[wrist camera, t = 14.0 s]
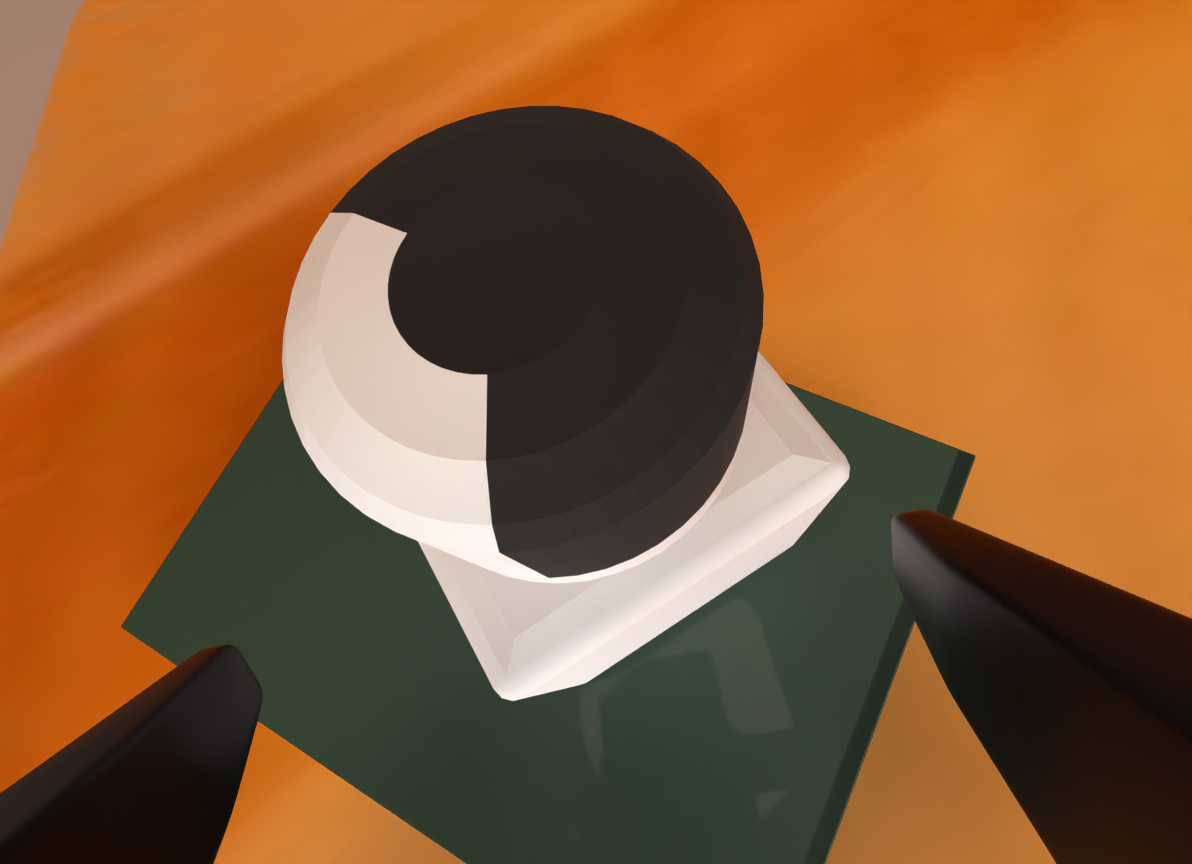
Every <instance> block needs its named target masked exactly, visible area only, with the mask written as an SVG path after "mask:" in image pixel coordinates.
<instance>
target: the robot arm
mask: <svg viewBox="0 0 1192 864" xmlns="http://www.w3.org/2000/svg"><path fill="white" fill-rule="evenodd" d="M891 530H892V551H893V568H894V574H895V577H896V580H897V583H898V586H899V588H900V590H901V592H902V594H903V596H904V598H905V600H906V602H907V605H908V607H909V609H910V611H911V613H912V615H913V617H914V619H915V621H916V623H917V625H918V628H919V630H920V632H921V634H922V636H923V638H924V640H925V642H926V644H927V646H928V648H929V651H930V653H931V655H932V657H933V659H934V661H935V663H936V665H937V667H938V669H939V672H940V674H941V676H942V677H943V679H944V681H945V683H946V685H947V687H948V689H949V691H950V693H951V695H952V696H953V698H954V700H955V701H956V703H957V705H958V706H959V708H960V710H961V711H962V713H963V715H964V716H965V718H966V719H967V721H968V723H969V724H970V726H971V727H972V729H973V731H974V732H975V734H976V735H977V737H978V739H979V740H980V742H981V743H982V745H983V747H984V748H985V750H986V751H987V753H988V755H989V756H990V758H991V759H992V761H993V763H994V764H995V766H996V767H997V769H998V771H999V772H1000V774H1001V775H1002V777H1003V779H1004V780H1005V782H1006V783H1007V785H1008V787H1009V788H1010V790H1011V791H1012V793H1013V795H1014V796H1015V798H1016V799H1017V801H1018V803H1019V804H1020V806H1021V807H1022V809H1023V811H1024V812H1025V814H1026V815H1027V817H1028V819H1029V820H1030V822H1031V823H1032V825H1033V827H1034V828H1035V830H1036V831H1037V833H1038V835H1039V836H1040V838H1041V839H1042V841H1043V843H1044V844H1045V846H1046V847H1047V849H1048V851H1049V852H1050V854H1051V855H1052V857H1053V859H1054V860H1055V862H1056V863H1057V864H1192V618H1189V617H1187V616H1184V615H1182V614H1180V613H1177V612H1175V611H1172V610H1170V609H1167V608H1165V607H1163V606H1160V605H1158V604H1155V603H1153V602H1151V601H1148V600H1146V599H1143V598H1141V597H1139V596H1136V595H1134V594H1131V593H1129V592H1127V591H1124V590H1122V589H1119V588H1117V587H1115V586H1112V585H1110V584H1107V583H1105V582H1103V581H1100V580H1098V579H1095V578H1093V577H1090V576H1088V575H1086V574H1083V573H1081V572H1078V571H1076V570H1074V569H1071V568H1069V567H1066V566H1064V565H1062V564H1059V563H1057V562H1054V561H1052V560H1050V559H1047V558H1045V557H1042V556H1040V555H1038V554H1035V553H1033V552H1030V551H1028V550H1026V549H1023V548H1021V547H1018V546H1016V545H1013V544H1011V543H1009V542H1006V541H1004V540H1001V539H999V538H997V537H994V536H992V535H989V534H987V533H985V532H982V531H980V530H977V529H975V528H973V527H970V526H968V525H965V524H963V523H961V522H958V521H956V520H953V519H951V518H949V517H946V516H944V515H941V514H939V513H937V512H934V511H932V510H929V509H919V510H914V511H909V512H904V513H899V514H896V515H895V516H894V517H893V519H892V523H891ZM262 701H263V693H262V688H261V685H260V683H259V681H258V680H257V678H256V676H255V675H254V673H253V671H252V670H251V668H250V666H249V665H248V663H247V662H246V660H245V658H244V657H243V655H242V653H241V652H240V650H239V649H238V648H237V647H235V646H234V645H229V644H226V645H221V646H215V647H210V648H206V649H203V650H200V651H199V652H197V653H195V654H194V655H193V656H191V657H190V658H189V659H187V660H186V661H184V662H183V663H182V664H180V665H179V666H177V667H176V668H175V669H173V670H172V671H170V672H169V673H168V674H166V675H165V676H163V677H162V678H161V679H159V680H158V681H156V682H155V683H154V684H152V685H151V686H149V687H148V688H147V689H145V690H144V691H142V692H141V693H140V694H138V695H137V696H135V697H134V698H133V699H131V700H130V701H128V702H127V703H126V704H124V705H123V706H122V707H120V708H119V709H117V710H116V711H115V712H113V713H112V714H110V715H109V716H108V717H106V718H105V719H103V720H102V721H101V722H99V723H98V724H96V725H95V726H94V727H92V728H91V729H89V730H88V731H87V732H85V733H84V734H82V735H81V736H80V737H78V738H77V739H75V740H74V741H73V742H71V743H70V744H68V745H67V746H66V747H64V748H63V749H61V750H60V751H59V752H57V753H56V754H55V755H53V756H52V757H50V758H49V759H48V760H46V761H45V762H43V763H42V764H41V765H39V766H38V767H36V768H35V769H34V770H32V771H31V772H29V773H28V774H27V775H25V776H24V777H22V778H21V779H20V780H18V781H17V782H15V783H14V784H13V785H11V786H10V787H8V788H7V789H6V790H4V791H3V792H1V793H0V864H214V861H215V858H216V855H217V853H218V850H219V847H220V845H221V842H222V839H223V837H224V834H225V831H226V828H227V826H228V823H229V820H230V817H231V814H232V811H233V808H234V804H235V801H236V798H237V794H238V791H239V787H240V783H241V780H242V776H243V772H244V769H245V765H246V761H247V758H248V754H249V750H250V747H251V743H252V739H253V736H254V732H255V728H256V725H257V721H258V717H259V714H260V710H261V706H262Z"/></svg>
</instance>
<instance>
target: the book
mask: <svg viewBox="0 0 1192 864" xmlns="http://www.w3.org/2000/svg"><path fill="white" fill-rule="evenodd" d="M785 384H786V385H787V386H788V387H789V388H790V390H791V391H792V392H793V393H794V394H795V396H796V397H797V398H798V399H799V401H800V402H801V403H802V404H803V405H804V407H805V408H806V409H807V410H808V411H809V413H810V414H811V415H812V416H813V417H814V419H815V420H816V421H817V422H818V424H819V425H820V426H821V427H822V428H823V430H824V431H825V432H826V433H827V434H828V436H829V437H830V438H831V439H832V441H833V442H834V443H835V444H836V445H837V447H838V448H839V449H840V450H841V451H842V453H843V454H844V455H845V457H846V459H847V461H848V463H849V466H850V472H849V479H848V480H847V481H846V482H845V483H844V485H843V486H842V487H841V488H840V489H839V491H838V492H837V493H836V494H835V495H834V497H833V498H832V499H831V500H830V501H829V503H828V504H827V505H826V506H825V507H824V509H823V510H822V511H821V512H820V513H819V515H818V516H817V517H816V518H815V519H814V521H813V522H812V523H811V524H810V525H809V527H808V528H807V529H806V530H805V531H804V533H803V534H802V535H801V536H800V537H799V539H798V540H797V541H796V542H795V543H794V545H793V546H791V547H790V548H788V549H787V550H785V551H784V552H782V553H781V554H779V555H778V556H776V557H775V558H773V559H772V560H770V561H769V562H767V563H766V564H764V565H763V566H761V567H760V568H758V569H757V570H755V571H754V572H752V573H751V574H749V575H748V576H746V577H745V578H743V579H742V580H740V581H739V582H737V583H736V584H734V585H733V586H731V587H730V588H728V589H727V590H725V591H724V592H722V593H721V594H719V595H718V596H716V597H715V598H713V599H712V600H710V601H709V602H707V603H706V604H704V605H703V606H701V607H700V608H698V609H697V610H695V611H694V612H692V613H691V614H689V615H688V616H686V617H685V618H683V619H682V620H680V621H679V622H677V623H676V624H674V625H673V626H671V627H670V628H668V629H667V630H665V631H664V632H662V633H661V634H659V635H658V636H656V637H655V638H653V639H652V640H650V641H649V642H647V643H646V644H644V645H643V646H641V647H640V648H638V649H637V650H635V651H634V652H632V653H631V654H629V655H628V656H626V657H625V658H623V659H622V660H620V661H618V662H617V663H615V664H614V665H612V666H611V667H609V668H608V669H606V670H605V671H603V672H602V673H600V674H599V675H597V676H596V677H594V678H593V679H591V680H590V681H588V682H587V683H584V684H581V685H578V686H574V687H569V688H565V689H561V690H557V691H553V692H549V693H544V694H540V695H536V696H532V697H528V698H523V699H519V700H515V701H511V700H507V699H503V698H501V697H500V696H499V694H498V693H497V692H496V691H495V690H494V689H493V687H492V685H491V683H490V681H489V679H488V677H487V675H486V673H485V671H484V669H483V667H482V665H481V663H480V662H479V660H478V658H477V656H476V654H475V652H474V650H473V648H472V646H471V644H470V642H469V640H468V638H467V636H466V634H465V632H464V630H463V628H462V626H461V624H460V622H459V621H458V619H457V617H456V615H455V613H454V611H453V609H452V607H451V605H450V603H449V601H448V599H447V597H446V595H445V593H444V591H443V589H442V587H441V585H440V583H439V581H438V580H437V578H436V576H435V574H434V572H433V570H432V568H431V566H430V564H429V562H428V560H427V558H426V556H425V554H424V552H423V550H422V548H421V546H420V544H419V542H418V541H417V540H414V539H412V538H409V537H407V536H404V535H402V534H400V533H397V532H395V531H393V530H391V529H389V528H388V527H386V526H384V525H382V524H380V523H379V522H377V521H375V520H373V519H372V518H370V517H368V516H366V515H365V514H364V513H362V512H361V511H360V510H359V509H357V508H356V507H355V506H354V505H352V504H351V503H350V502H349V501H347V500H346V499H345V498H344V497H342V496H341V495H340V494H339V493H338V492H337V491H336V489H335V488H334V487H333V486H332V485H331V484H330V483H329V482H328V480H327V479H326V478H325V477H324V476H323V475H322V474H321V473H320V471H319V470H318V468H317V467H316V465H315V464H314V462H313V460H312V459H311V457H310V456H309V454H308V452H307V451H306V449H305V448H304V446H303V444H302V442H301V439H300V437H299V435H298V432H297V430H296V427H295V425H294V423H293V420H292V418H291V414H290V410H289V406H288V402H287V397H286V393H285V389H284V379H283V380H282V382H281V384H280V385H279V387H278V388H277V390H276V391H275V393H274V394H273V396H272V397H271V399H270V400H269V402H268V403H267V405H266V406H265V408H264V409H263V411H262V412H261V414H260V416H259V417H258V419H257V420H256V422H255V423H254V425H253V426H252V428H251V429H250V431H249V432H248V434H247V435H246V437H245V438H244V440H243V441H242V443H241V444H240V446H239V448H238V449H237V451H236V452H235V454H234V455H233V457H232V458H231V460H230V461H229V463H228V464H227V466H226V467H225V469H224V470H223V472H222V473H221V475H220V476H219V478H218V480H217V481H216V483H215V484H214V486H213V487H212V489H211V490H210V492H209V493H208V495H207V496H206V498H205V499H204V501H203V502H202V504H201V505H200V507H199V508H198V510H197V512H196V513H195V515H194V516H193V518H192V519H191V521H190V522H189V524H188V525H187V527H186V528H185V530H184V531H183V533H182V534H181V536H180V537H179V539H178V540H177V542H176V544H175V545H174V547H173V548H172V550H171V551H170V553H169V554H168V556H167V557H166V559H165V560H164V562H163V563H162V565H161V566H160V568H159V569H158V571H157V572H156V574H155V575H154V577H153V579H152V580H151V582H150V583H149V585H148V586H147V588H146V589H145V591H144V592H143V594H142V595H141V597H140V598H139V600H138V601H137V603H136V604H135V606H134V607H133V609H132V611H131V612H130V614H129V615H128V617H127V618H126V620H125V621H124V623H123V624H122V626H121V627H122V628H123V629H124V630H126V631H127V632H129V633H130V634H132V635H133V636H135V637H136V638H138V639H139V640H140V641H142V642H143V643H145V644H146V645H148V646H149V647H151V648H152V649H154V650H155V651H157V652H158V653H159V654H161V655H162V656H164V657H165V658H167V659H168V660H170V661H171V662H173V663H174V664H175V665H177V666H179V665H180V664H182V663H183V662H184V661H186V660H187V659H189V658H190V657H191V656H193V655H194V654H195V653H197V652H199V651H200V650H203V649H206V648H210V647H215V646H221V645H226V644H229V645H234V646H235V647H237V648H238V649H239V650H240V652H241V653H242V655H243V657H244V658H245V660H246V662H247V663H248V665H249V666H250V668H251V670H252V671H253V673H254V675H255V676H256V678H257V680H258V681H259V683H260V685H261V688H262V693H263V701H262V706H261V710H260V714H259V717H258V721H259V722H260V723H262V724H263V725H265V726H266V727H268V728H269V729H270V730H272V731H273V732H275V733H276V734H278V735H279V736H281V737H282V738H284V739H285V740H287V741H288V742H289V743H291V744H292V745H294V746H295V747H297V748H298V749H300V750H301V751H303V752H304V753H305V754H307V755H308V756H310V757H311V758H313V759H314V760H316V761H317V762H319V763H320V764H322V765H323V766H324V767H326V768H327V769H329V770H330V771H332V772H333V773H335V774H336V775H338V776H339V777H341V778H342V779H343V780H345V781H346V782H348V783H349V784H351V785H352V786H354V787H355V788H357V789H358V790H360V791H361V792H362V793H364V794H365V795H367V796H368V797H370V798H371V799H373V800H374V801H376V802H377V803H379V804H380V805H381V806H383V807H384V808H386V809H387V810H389V811H390V812H392V813H393V814H395V815H396V816H398V817H399V818H400V819H402V820H403V821H405V822H406V823H408V824H409V825H411V826H412V827H414V828H415V829H417V830H418V831H419V832H421V833H422V834H424V835H425V836H427V837H428V838H430V839H431V840H433V841H434V842H435V843H437V844H438V845H440V846H441V847H443V848H444V849H446V850H447V851H449V852H450V853H452V854H453V855H454V856H456V857H457V858H459V859H460V860H462V861H463V862H465V863H466V864H825V863H826V861H827V858H828V855H829V853H830V850H831V847H832V844H833V842H834V839H835V836H836V834H837V831H838V828H839V826H840V823H841V820H842V817H843V815H844V812H845V809H846V807H847V804H848V801H849V798H850V796H851V793H852V790H853V788H854V785H855V782H856V779H857V777H858V774H859V771H860V769H861V766H862V763H863V761H864V758H865V755H866V752H867V750H868V747H869V744H870V742H871V739H872V736H873V733H874V731H875V728H876V725H877V723H878V720H879V717H880V714H881V712H882V709H883V706H884V704H885V701H886V698H887V695H888V693H889V690H890V687H891V685H892V682H893V679H894V677H895V674H896V671H897V668H898V666H899V663H900V660H901V658H902V655H903V652H904V649H905V647H906V644H907V641H908V639H909V636H910V633H911V630H912V628H913V625H914V622H915V619H914V617H913V615H912V613H911V611H910V609H909V607H908V605H907V602H906V600H905V598H904V596H903V594H902V592H901V590H900V588H899V586H898V583H897V580H896V577H895V574H894V568H893V551H892V530H891V523H892V519H893V517H894V516H895V515H896V514H899V513H904V512H909V511H914V510H919V509H929V510H932V511H934V512H937V513H939V514H941V515H944V516H946V517H949V518H951V519H953V517H954V514H955V511H956V509H957V506H958V503H959V500H960V498H961V495H962V492H963V490H964V487H965V484H966V482H967V479H968V476H969V473H970V471H971V468H972V465H973V463H974V460H975V455H972V454H970V453H967V452H964V451H962V450H959V449H957V448H954V447H951V446H949V445H946V444H944V443H941V442H938V441H936V440H933V439H931V438H928V437H925V436H923V435H920V434H918V433H915V432H912V431H910V430H907V429H905V428H902V427H899V426H897V425H894V424H892V423H889V422H886V421H884V420H881V419H879V418H876V417H873V416H871V415H868V414H866V413H863V412H860V411H858V410H855V409H852V408H850V407H847V406H845V405H842V404H839V403H837V402H834V401H832V400H829V399H826V398H824V397H821V396H819V395H816V394H813V393H811V392H808V391H806V390H803V389H800V388H798V387H795V386H793V385H790V384H787V383H785Z"/></svg>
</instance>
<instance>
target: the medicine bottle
mask: <svg viewBox="0 0 1192 864" xmlns="http://www.w3.org/2000/svg"><path fill="white" fill-rule="evenodd" d="M763 298H764V294H763V287H762V279H761V271H760V264H759V260H758V257H757V254H756V250H755V247H754V244H753V241H752V237H751V234H750V232H749V230H748V228H747V226H746V224H745V222H744V220H743V218H742V216H741V214H740V212H739V210H738V208H737V206H736V205H735V203H734V202H733V201H732V199H731V198H730V196H729V195H728V194H727V192H726V191H725V189H724V188H723V187H722V185H721V184H720V183H719V182H718V181H717V180H716V178H715V177H714V176H713V175H712V174H711V173H710V172H709V171H708V170H707V169H706V168H705V167H704V166H703V165H702V164H701V163H700V162H699V161H697V160H696V159H695V158H693V157H692V156H691V155H689V154H688V153H687V152H685V151H684V150H683V149H681V148H680V147H679V146H677V145H676V144H674V143H672V142H670V141H669V140H667V139H665V138H663V137H661V136H659V135H658V134H656V133H654V132H652V131H650V130H648V129H645V128H642V127H640V126H637V125H635V124H632V123H630V122H627V121H624V120H622V119H619V118H617V117H614V116H611V115H607V114H602V113H598V112H594V111H590V110H586V109H578V108H569V107H560V106H526V107H518V108H509V109H501V110H496V111H492V112H487V113H483V114H479V115H474V116H471V117H468V118H465V119H462V120H459V121H456V122H453V123H450V124H448V125H445V126H443V127H440V128H438V129H436V130H434V131H432V132H430V133H428V134H426V135H423V136H421V137H419V138H417V139H416V140H414V141H412V142H411V143H409V144H407V145H406V146H404V147H402V148H401V149H399V150H397V151H396V152H394V153H393V154H391V155H390V156H389V157H387V158H386V159H385V160H383V161H382V162H381V163H380V164H378V165H377V166H376V167H374V168H373V169H372V170H370V171H369V172H368V173H367V174H366V175H365V176H364V177H363V178H362V179H361V180H360V181H359V182H358V183H357V184H356V185H355V186H353V187H352V188H351V189H350V190H349V191H348V193H347V194H346V195H345V196H344V197H343V198H342V200H341V201H340V202H339V203H338V204H337V206H336V207H335V208H334V209H333V210H332V212H331V213H330V214H329V216H328V217H327V219H326V220H325V222H324V223H323V225H322V226H321V228H320V229H319V231H318V232H317V234H316V235H315V237H314V239H313V241H312V243H311V245H310V247H309V249H308V251H307V253H306V255H305V257H304V259H303V261H302V263H301V266H300V269H299V272H298V275H297V278H296V280H295V283H294V286H293V289H292V294H291V298H290V303H289V307H288V312H287V317H286V322H285V327H284V335H283V351H282V366H283V378H284V389H285V393H286V397H287V402H288V406H289V410H290V414H291V418H292V420H293V423H294V425H295V427H296V430H297V432H298V435H299V437H300V439H301V442H302V444H303V446H304V448H305V449H306V451H307V452H308V454H309V456H310V457H311V459H312V460H313V462H314V464H315V465H316V467H317V468H318V470H319V471H320V473H321V474H322V475H323V476H324V477H325V478H326V479H327V480H328V482H329V483H330V484H331V485H332V486H333V487H334V488H335V489H336V491H337V492H338V493H339V494H340V495H341V496H342V497H344V498H345V499H346V500H347V501H349V502H350V503H351V504H352V505H354V506H355V507H356V508H357V509H359V510H360V511H361V512H362V513H364V514H365V515H366V516H368V517H370V518H372V519H373V520H375V521H377V522H379V523H380V524H382V525H384V526H386V527H388V528H389V529H391V530H393V531H395V532H397V533H400V534H402V535H404V536H407V537H409V538H412V539H414V540H417V541H418V542H419V544H420V546H421V548H422V550H423V552H424V554H425V556H426V558H427V560H428V562H429V564H430V566H431V568H432V570H433V572H434V574H435V576H436V578H437V580H438V581H439V583H440V585H441V587H442V589H443V591H444V593H445V595H446V597H447V599H448V601H449V603H450V605H451V607H452V609H453V611H454V613H455V615H456V617H457V619H458V621H459V622H460V624H461V626H462V628H463V630H464V632H465V634H466V636H467V638H468V640H469V642H470V644H471V646H472V648H473V650H474V652H475V654H476V656H477V658H478V660H479V662H480V663H481V665H482V667H483V669H484V671H485V673H486V675H487V677H488V679H489V681H490V683H491V685H492V687H493V689H494V690H495V691H496V692H497V693H498V694H499V696H500V697H501V698H503V699H507V700H511V701H515V700H519V699H523V698H528V697H532V696H536V695H540V694H544V693H549V692H553V691H557V690H561V689H565V688H569V687H574V686H578V685H581V684H584V683H587V682H588V681H590V680H591V679H593V678H594V677H596V676H597V675H599V674H600V673H602V672H603V671H605V670H606V669H608V668H609V667H611V666H612V665H614V664H615V663H617V662H618V661H620V660H622V659H623V658H625V657H626V656H628V655H629V654H631V653H632V652H634V651H635V650H637V649H638V648H640V647H641V646H643V645H644V644H646V643H647V642H649V641H650V640H652V639H653V638H655V637H656V636H658V635H659V634H661V633H662V632H664V631H665V630H667V629H668V628H670V627H671V626H673V625H674V624H676V623H677V622H679V621H680V620H682V619H683V618H685V617H686V616H688V615H689V614H691V613H692V612H694V611H695V610H697V609H698V608H700V607H701V606H703V605H704V604H706V603H707V602H709V601H710V600H712V599H713V598H715V597H716V596H718V595H719V594H721V593H722V592H724V591H725V590H727V589H728V588H730V587H731V586H733V585H734V584H736V583H737V582H739V581H740V580H742V579H743V578H745V577H746V576H748V575H749V574H751V573H752V572H754V571H755V570H757V569H758V568H760V567H761V566H763V565H764V564H766V563H767V562H769V561H770V560H772V559H773V558H775V557H776V556H778V555H779V554H781V553H782V552H784V551H785V550H787V549H788V548H790V547H791V546H793V545H794V543H795V542H796V541H797V540H798V539H799V537H800V536H801V535H802V534H803V533H804V531H805V530H806V529H807V528H808V527H809V525H810V524H811V523H812V522H813V521H814V519H815V518H816V517H817V516H818V515H819V513H820V512H821V511H822V510H823V509H824V507H825V506H826V505H827V504H828V503H829V501H830V500H831V499H832V498H833V497H834V495H835V494H836V493H837V492H838V491H839V489H840V488H841V487H842V486H843V485H844V483H845V482H846V481H847V480H848V479H849V472H850V466H849V463H848V461H847V459H846V457H845V455H844V454H843V453H842V451H841V450H840V449H839V448H838V447H837V445H836V444H835V443H834V442H833V441H832V439H831V438H830V437H829V436H828V434H827V433H826V432H825V431H824V430H823V428H822V427H821V426H820V425H819V424H818V422H817V421H816V420H815V419H814V417H813V416H812V415H811V414H810V413H809V411H808V410H807V409H806V408H805V407H804V405H803V404H802V403H801V402H800V401H799V399H798V398H797V397H796V396H795V394H794V393H793V392H792V391H791V390H790V388H789V387H788V386H787V385H786V384H785V382H784V381H783V380H782V379H781V377H780V376H779V375H778V374H777V373H776V371H775V370H774V369H773V368H772V367H771V365H770V364H769V363H768V362H767V361H766V359H765V358H764V357H763V356H762V354H761V353H760V352H759V351H758V349H759V344H760V338H761V333H762V328H763Z"/></svg>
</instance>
